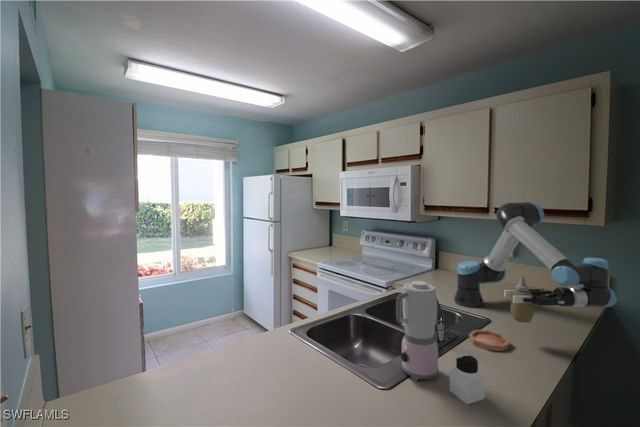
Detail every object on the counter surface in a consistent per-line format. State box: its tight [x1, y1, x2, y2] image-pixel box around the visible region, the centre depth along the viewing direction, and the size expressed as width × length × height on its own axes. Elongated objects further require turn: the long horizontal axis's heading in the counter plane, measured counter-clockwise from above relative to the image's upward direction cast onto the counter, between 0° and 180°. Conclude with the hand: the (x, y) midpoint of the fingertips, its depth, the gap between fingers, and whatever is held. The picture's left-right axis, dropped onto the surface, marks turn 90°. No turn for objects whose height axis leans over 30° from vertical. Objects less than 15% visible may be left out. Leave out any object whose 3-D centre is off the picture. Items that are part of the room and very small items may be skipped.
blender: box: [395, 280, 439, 381], centre depth 105 cm, size 16×12×32 cm
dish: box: [468, 329, 511, 352], centre depth 126 cm, size 14×14×2 cm
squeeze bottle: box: [510, 276, 535, 324], centre depth 123 cm, size 8×8×18 cm
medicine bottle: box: [449, 353, 486, 405], centre depth 93 cm, size 7×7×12 cm
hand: (509, 296), depth 124 cm, fingers closed on squeeze bottle, 6 cm apart
